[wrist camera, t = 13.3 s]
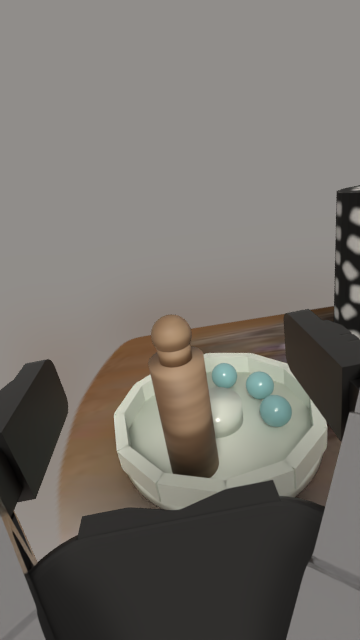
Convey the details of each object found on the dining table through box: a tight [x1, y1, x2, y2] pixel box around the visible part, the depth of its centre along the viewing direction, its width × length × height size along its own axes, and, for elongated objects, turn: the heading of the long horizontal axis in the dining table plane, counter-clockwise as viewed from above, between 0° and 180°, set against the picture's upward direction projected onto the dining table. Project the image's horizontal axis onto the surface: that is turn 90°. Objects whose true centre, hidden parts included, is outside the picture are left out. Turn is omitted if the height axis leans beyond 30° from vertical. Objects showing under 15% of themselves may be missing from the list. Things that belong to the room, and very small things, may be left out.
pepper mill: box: [148, 315, 219, 478], centre depth 25 cm, size 4×4×13 cm
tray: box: [114, 353, 327, 510], centre depth 31 cm, size 19×19×4 cm
